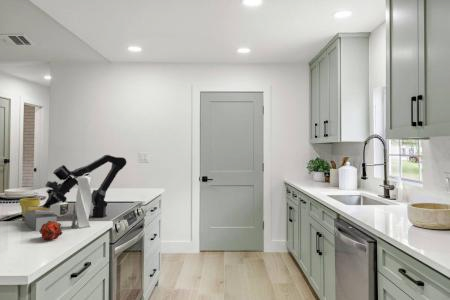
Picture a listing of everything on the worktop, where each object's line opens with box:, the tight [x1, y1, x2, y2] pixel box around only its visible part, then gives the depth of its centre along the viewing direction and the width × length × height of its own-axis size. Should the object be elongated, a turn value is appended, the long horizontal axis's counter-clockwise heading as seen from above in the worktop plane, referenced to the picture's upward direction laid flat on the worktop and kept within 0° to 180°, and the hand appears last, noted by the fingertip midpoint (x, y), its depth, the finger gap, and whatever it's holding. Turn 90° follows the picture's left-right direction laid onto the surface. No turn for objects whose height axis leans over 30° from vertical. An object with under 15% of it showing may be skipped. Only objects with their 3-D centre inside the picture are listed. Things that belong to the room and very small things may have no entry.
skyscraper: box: [71, 172, 94, 230], centre depth 170 cm, size 8×8×28 cm
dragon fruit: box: [39, 221, 63, 242], centre depth 145 cm, size 8×8×12 cm
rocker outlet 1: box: [28, 206, 48, 210], centre depth 175 cm, size 8×4×1 cm, turn 133°
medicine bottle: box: [49, 200, 69, 217], centre depth 199 cm, size 7×7×12 cm
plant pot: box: [19, 197, 41, 218], centre depth 194 cm, size 10×10×10 cm
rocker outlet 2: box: [35, 210, 55, 214], centre depth 165 cm, size 8×4×1 cm, turn 133°
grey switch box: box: [24, 209, 58, 232], centre depth 170 cm, size 10×22×6 cm, turn 43°
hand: (43, 207), depth 176 cm, fingers closed, pressing on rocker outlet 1
